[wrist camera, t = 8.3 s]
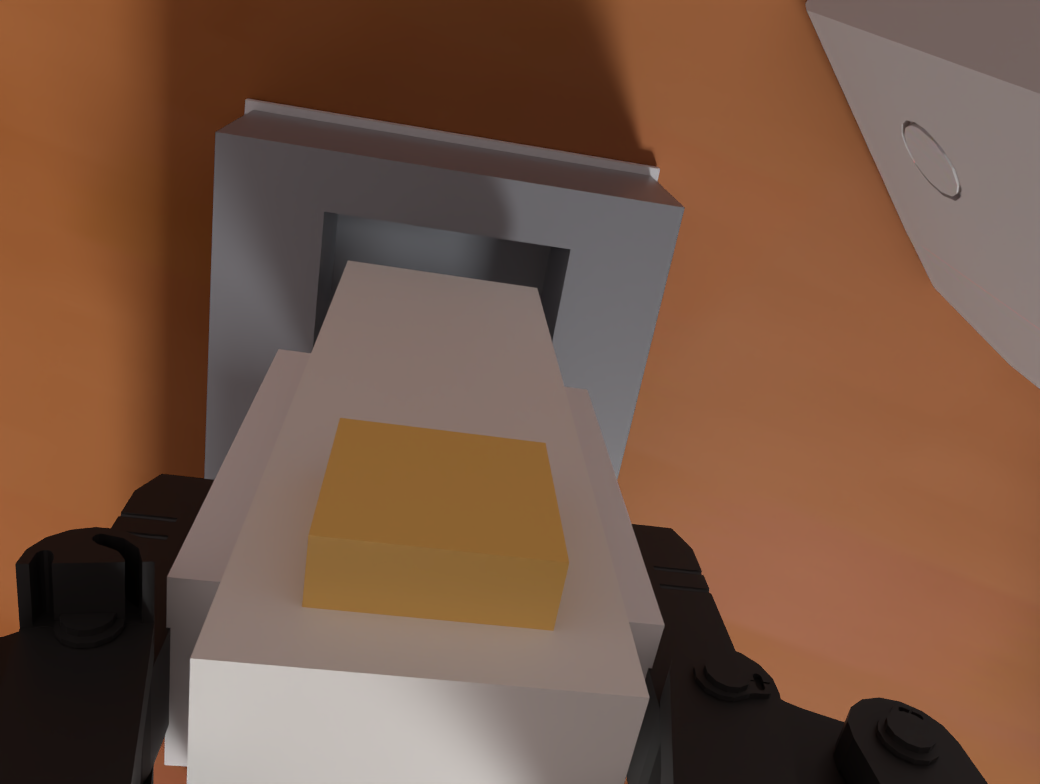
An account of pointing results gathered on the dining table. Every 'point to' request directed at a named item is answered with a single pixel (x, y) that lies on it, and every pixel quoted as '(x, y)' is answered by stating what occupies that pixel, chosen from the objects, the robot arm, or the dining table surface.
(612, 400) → the socket strip
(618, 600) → the plug
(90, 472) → the dining table surface
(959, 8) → the electrical switch box
